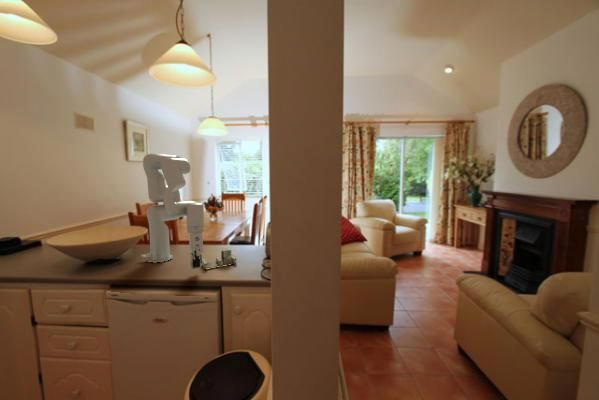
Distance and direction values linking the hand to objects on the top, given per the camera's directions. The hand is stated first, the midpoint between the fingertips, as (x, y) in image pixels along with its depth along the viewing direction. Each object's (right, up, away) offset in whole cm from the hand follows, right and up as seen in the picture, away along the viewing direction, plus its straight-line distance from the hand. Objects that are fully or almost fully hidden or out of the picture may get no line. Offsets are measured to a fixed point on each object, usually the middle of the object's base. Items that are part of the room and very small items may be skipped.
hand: (195, 264), depth 119 cm
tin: (-59, -3, +21) cm, 62 cm away
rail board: (+7, -4, +14) cm, 16 cm away
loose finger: (0, -1, 0) cm, 1 cm away
